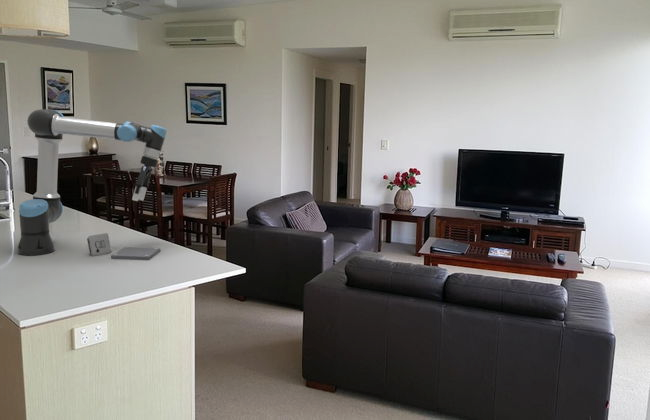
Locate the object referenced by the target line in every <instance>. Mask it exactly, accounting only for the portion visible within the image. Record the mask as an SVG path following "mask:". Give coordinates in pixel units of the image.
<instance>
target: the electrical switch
mask: <svg viewBox="0 0 650 420" xmlns="http://www.w3.org/2000/svg"><path fill="white" fill-rule="evenodd" d="M86 240H87V246H88V250H89V255H91V256H92V257H94V256H102V255H106V254H110V253H111V252H112V248H111V241H110V237H109V234H108V233H107V232H105V233H100V234H91V235H88V237H87V238H86Z"/></svg>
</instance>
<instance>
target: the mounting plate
mask: <svg viewBox="0 0 650 420" xmlns="http://www.w3.org/2000/svg"><path fill="white" fill-rule="evenodd" d="M160 252H161V247H133V246H130V247H129V246H124V247H123V248H121V249H119V250H117V251H116V252H115V253H113V254H111V255H110V259H111V260H133V261H134V260H135V261H136V260H137V261H150V260H151V259H153V258H154V257H155V256H156V255H158V254H159V253H160Z"/></svg>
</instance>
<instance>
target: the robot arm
mask: <svg viewBox="0 0 650 420" xmlns="http://www.w3.org/2000/svg"><path fill="white" fill-rule="evenodd" d="M26 121H27V127H28V129H29V130H30V131H31V132H32V133H33V134H34V138H35V139H36V140H37V141H38V146H37V171H36V174H37V177H36V180H37V181H36V192H35V193H34V194H33V195H32V199H29V200H23V201H22V202H21V203H19V206H18V214H19V227H20V238H19V242H18V245H17V254H18V255H22V256H39V255H46V254H50V253H53V252H54V251H55V243H54V240H53V239H52V237H51V235H50V224H51V223H53V222H54V223H55V222H56V221H57V220H58V219H59V218H60V217H61V216H62V214H63V211H64V206H63V204H62V202H61V195H60V194H59V193H58V169H59V144H60V143H61V142H62V141H63V135H69V136H78V137H88V138H96V139H97V138H98V139H106V140H116V141H122V142H127V143H130V142H132V141H136V142H141V143H144V144H145V146H144V148H143V152H142V156H141V158H140V164H142V167H141V169H140V172H139V175H138V177H137V179H136V182H135V183H134V185H133V186H134V187H135V188H134V190H133V195H132V199H131V200H132V201H135V202H139V201H142V202H144V199H145V197H146V194H147V193H146V192H147V190H148V189H149V188H150V186H149V185H150V180H151V177H152V176H151V175H152V172H153V168H157V165H158V162H159V161H158V160H159V158H160V156H162V153H161V151H162V148H163V145H164V142H165V139H166V134H167V129H166V128H165V127H162V126H159V125H156V124H151V125H150V127H149V126H148V127H147V126H144V125H140V124H138V123H135V122H133V121H132V122H131V121H124V122H123V123H121V122H120V123H119V122H118V123H117V122H110V121H109V122H108V121H101V120H91V119H85V118H74V117H69V116H68V117H66V116H64V115H63V114H62V113H61V112H60V111H58V110H55V109H51V108H49V109H48V108H47V109H36V110H34V111H31V113H30V114H29V115H28V117H27V120H26Z"/></svg>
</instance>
